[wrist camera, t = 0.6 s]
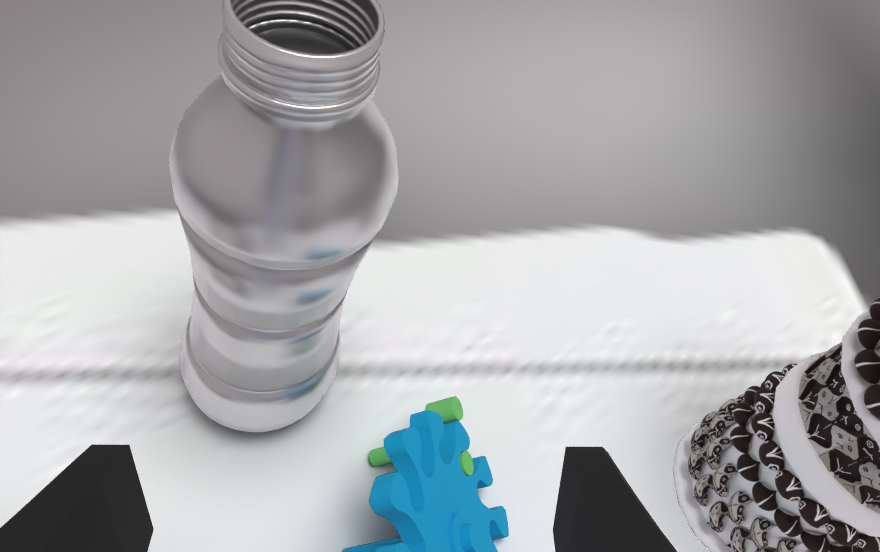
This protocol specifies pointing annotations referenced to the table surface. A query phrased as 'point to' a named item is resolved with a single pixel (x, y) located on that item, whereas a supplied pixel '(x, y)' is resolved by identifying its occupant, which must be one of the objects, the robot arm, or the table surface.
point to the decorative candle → (792, 456)
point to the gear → (434, 487)
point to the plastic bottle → (280, 203)
